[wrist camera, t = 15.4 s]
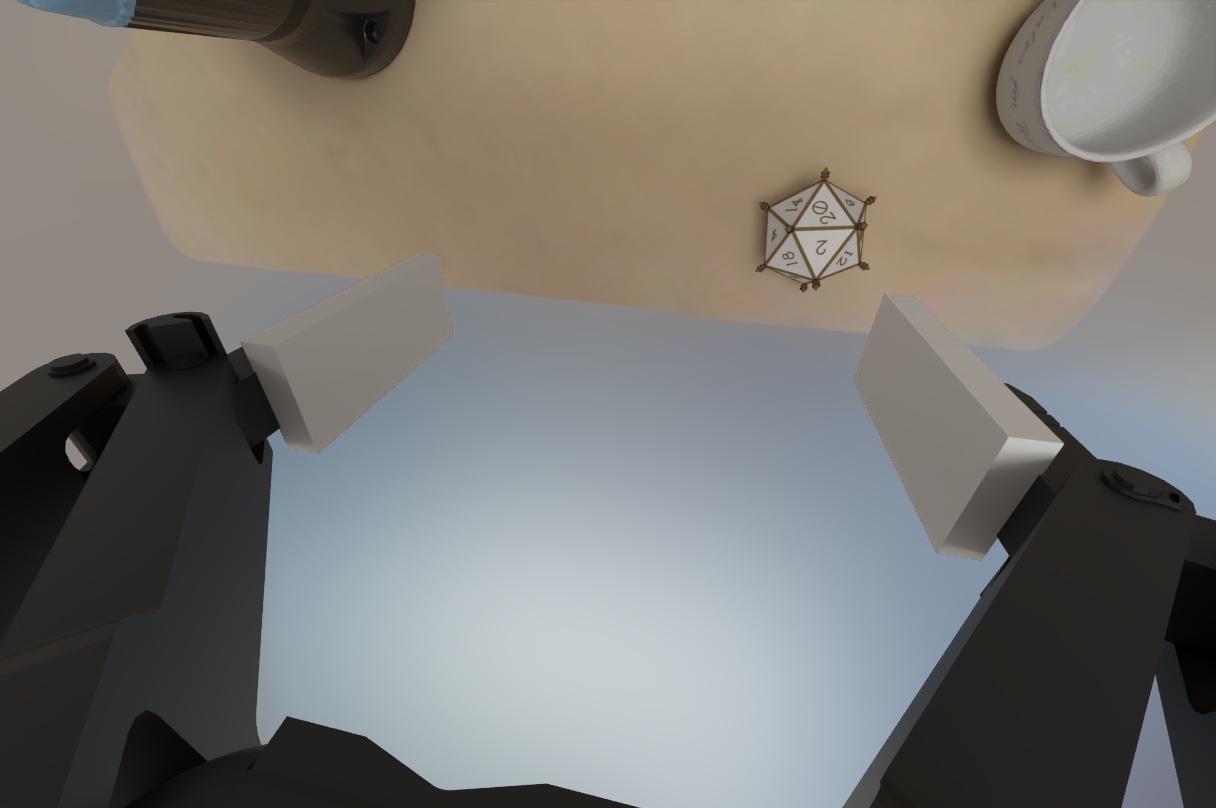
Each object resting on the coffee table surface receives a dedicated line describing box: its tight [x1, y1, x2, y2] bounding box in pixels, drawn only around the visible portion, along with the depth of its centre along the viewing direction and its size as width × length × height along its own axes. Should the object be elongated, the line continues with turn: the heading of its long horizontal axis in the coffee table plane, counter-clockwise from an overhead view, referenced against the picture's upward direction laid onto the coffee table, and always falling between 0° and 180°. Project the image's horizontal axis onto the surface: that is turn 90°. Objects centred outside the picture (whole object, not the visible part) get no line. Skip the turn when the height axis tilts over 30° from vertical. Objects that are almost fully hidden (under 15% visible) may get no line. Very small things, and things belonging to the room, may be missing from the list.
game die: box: [755, 167, 877, 292], centre depth 36 cm, size 9×8×10 cm
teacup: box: [996, 0, 1216, 196], centre depth 29 cm, size 14×11×8 cm
